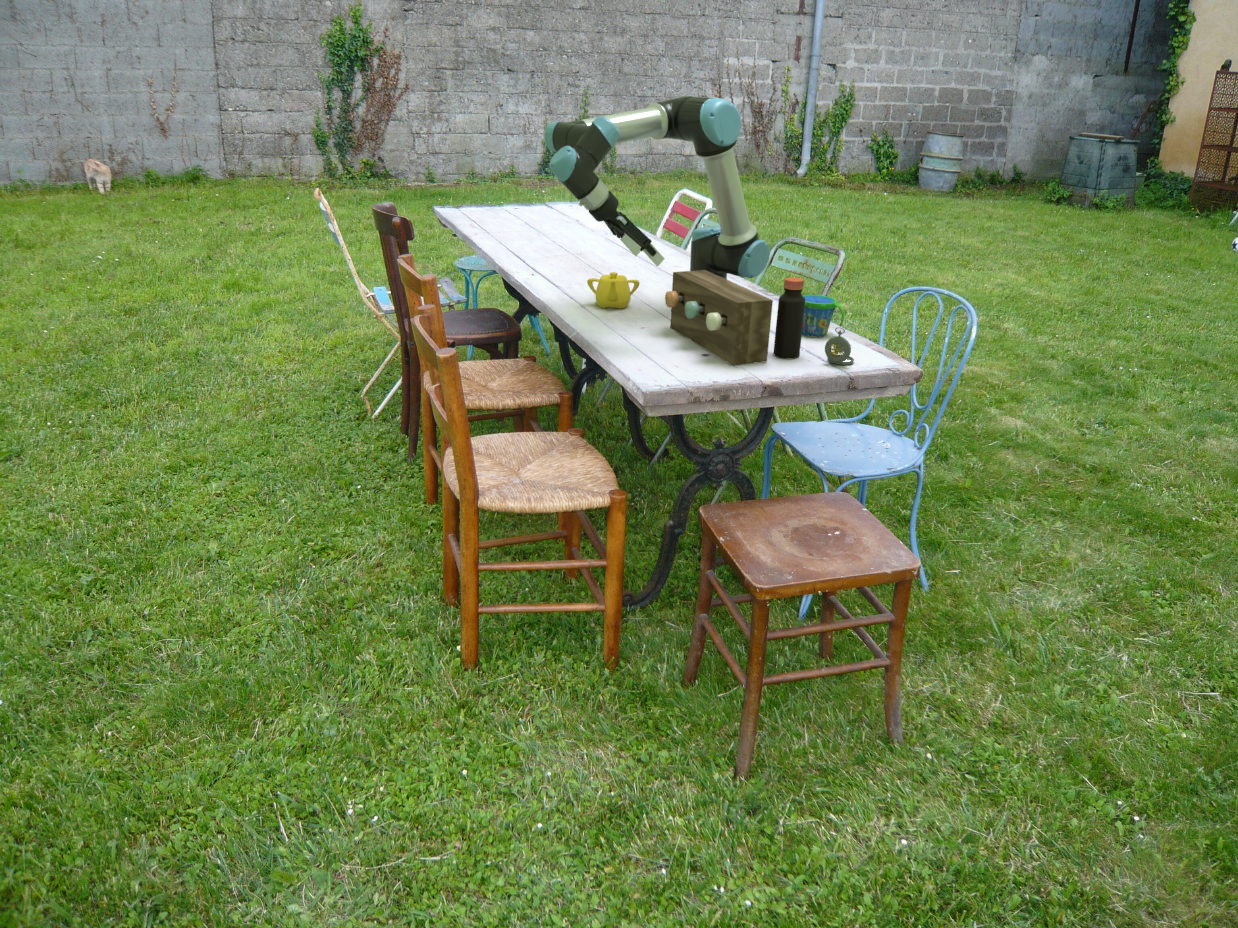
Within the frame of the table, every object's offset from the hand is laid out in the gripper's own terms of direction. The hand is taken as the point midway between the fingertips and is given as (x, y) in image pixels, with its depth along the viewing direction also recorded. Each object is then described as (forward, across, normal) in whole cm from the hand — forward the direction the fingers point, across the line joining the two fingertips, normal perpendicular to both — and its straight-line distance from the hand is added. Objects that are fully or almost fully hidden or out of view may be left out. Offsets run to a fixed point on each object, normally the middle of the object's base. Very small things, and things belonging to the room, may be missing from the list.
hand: (649, 257), depth 244 cm
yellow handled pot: (+19, -34, -12) cm, 41 cm away
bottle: (+35, +27, +4) cm, 45 cm away
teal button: (+16, +12, -3) cm, 20 cm away
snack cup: (+48, +12, +18) cm, 53 cm away
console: (+26, +12, -4) cm, 29 cm away
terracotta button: (+16, 0, -3) cm, 17 cm away
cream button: (+16, +24, -4) cm, 29 cm away
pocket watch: (+42, +37, +11) cm, 57 cm away
